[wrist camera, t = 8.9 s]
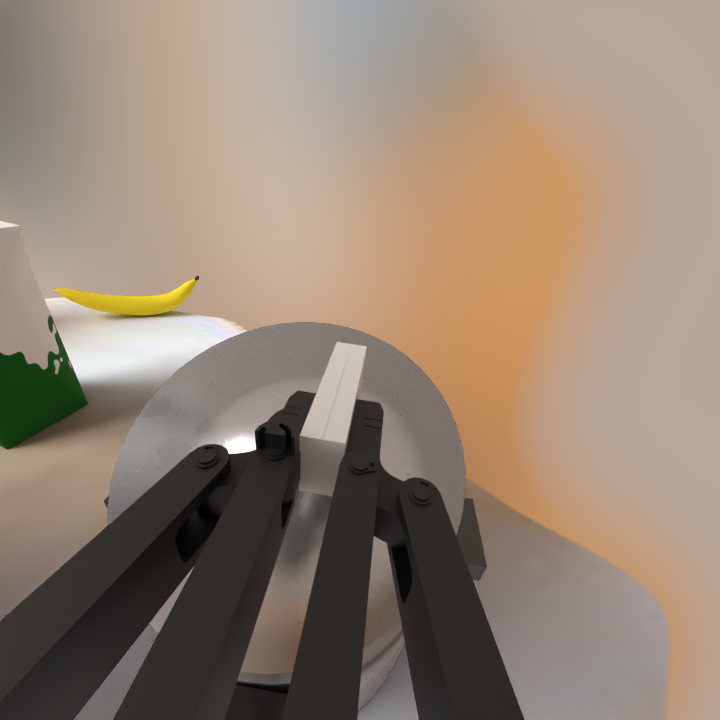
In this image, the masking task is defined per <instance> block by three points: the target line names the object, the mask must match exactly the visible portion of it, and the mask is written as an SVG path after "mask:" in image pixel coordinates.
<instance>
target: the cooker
mask: <svg viewBox="0 0 720 720" xmlns="http://www.w3.org/2000/svg"><path fill="white" fill-rule="evenodd" d="M108 500H109V496H108V497H107V498H106V499H105V500H104V502H105V505H106V507H107V509H108ZM456 536H457V539H458V542H459V545H460V547H461V550H462V553H463V555H464V558H465V561H466V564H467V566H468V569H469V572H470V574H471V577H472V580H478V581H479V580H480V578H481V576H482V575H483V573H484V571H485V569H486V568H487V565H486V560H485V556H484V551H483V546H482V541H481V537H480V532H479V527H478V522H477V518H476V513H475V508H474V503H473V499H468V498H464V505H463V512H462V518H461V521H460V525H459V528H458V532H457V535H456ZM157 634H159V633H157ZM404 643H405V640H404V635H403V630H402V624H401V621H400V622H399V623H398V624H396V625H395V626H394V627H393V628H392V629H391V630H390V631H389V632H387V633H386V634H385V635H383V636H382V637H380V638H378V639H377V640H375V641H374V642H372V643H371V644H369V645H368V646H366V647H364V648H363V659H362V670H361V681H360V692H359V703H358V711H359V710H360V709H361V708H362V707H363V706H364V705H365V704H366V703H367V702H368V701H369V700H370V699H371V698H372V697H373V696H374V695H375V694H376V692H377V691H378V690H379V688H380V687H381V686H382V685H383V683H384V682H385V681H386V679H387V677H388V676H389V674H390V672H391V670H392V669H393V667H394V665H395V664H396V662H397V659H398V657H399V655H400V653H401V650H402V648H403V646H404ZM292 673H293V672H289V673H277V674H258V673H247V672H240V674H239V677H238V680H237V683H236V686H235V689H234V692H233V695H232V698H231V701H230V704H229V707H228V710H227V713H226V716H225V720H282V717H283V713H284V708H285V704H286V699H287V695H288V691H289V686H290V682H291V677H292Z"/></svg>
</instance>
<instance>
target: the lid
mask: <svg viewBox="0 0 720 720" xmlns="http://www.w3.org/2000/svg"><path fill="white" fill-rule="evenodd" d="M337 342H341V343H348V344H354V345H361V346H367V349H366V356H365V364H364V371H363V379H362V387H361V393H360V398H359V399H360V400H366V401H373V402H379V403H380V404H381V406H382V408H383V410H384V416H383V427H382V438H381V449H380V462H381V464H382V466H383V468H384V469H385V470H386V471H387V472H388V473H389V474H390V475H392V476H394V477H395V478H397V479H400V480H402V481H405V480H407V479H409V478H414V477H417V478H423V479H425V480H428V481H430V482H431V483H432V484H434V485H435V486H436V487H437V489H438V490H439V492H440V494H441V496H442V499H443V501H444V504H445V507H446V509H447V512H448V515H449V518H450V520H451V523H452V526H453V528H454V531H455V534H456V535H457V532H458V528H459V525H460V521H461V518H462V512H463V505H464V498H465V463H464V454H463V448H462V444H461V440H460V436H459V432H458V428H457V426H456V423H455V421H454V418H453V416H452V413H451V411H450V409H449V407H448V405H447V403H446V402H445V400H444V398H443V396H442V394H441V393H440V392H439V390H438V389H437V388H436V386H435V385H434V383H433V382H432V380H431V379H430V378H429V377H428V376H427V375H426V374H425V373H424V372H423V370H422V369H421V368H420V367H419V366H418V365H416V364H415V363H414V362H413V361H412V360H411V359H409V358H408V357H407V356H406V355H405V354H403V353H402V352H400V351H399V350H397V349H396V348H395V347H393V346H391V345H390V344H388V343H386V342H384V341H382V340H380V339H378V338H376V337H374V336H371V335H369V334H367V333H364V332H361V331H358V330H355V329H351V328H348V327H344V326H339V325H333V324H326V323H315V322H295V323H285V324H277V325H272V326H266V327H261V328H258V329H255V330H251V331H247V332H244V333H242V334H239V335H236V336H234V337H231V338H229V339H227V340H225V341H223V342H220V343H218V344H216V345H214V346H212V347H211V348H209V349H207V350H206V351H204V352H203V353H201V354H199V355H198V356H196V357H194V358H193V359H192V360H191V361H189V362H188V363H187V364H185V365H184V366H183V367H181V368H180V369H179V370H178V371H177V372H175V373H174V374H173V375H172V376H171V377H170V378H169V379H168V380H167V381H166V382H165V383H164V384H163V385H162V386H161V387H160V388H159V389H158V390H157V392H156V393H155V394H154V395H153V396H152V397H151V398H150V400H149V401H148V402H147V404H146V405H145V407H144V408H143V409H142V411H141V412H140V414H139V415H138V416H137V418H136V420H135V422H134V423H133V425H132V427H131V429H130V431H129V432H128V434H127V436H126V438H125V441H124V443H123V445H122V448H121V450H120V453H119V455H118V458H117V461H116V464H115V468H114V472H113V476H112V480H111V484H110V492H109V500H108V525H109V524H110V523H111V522H113V521H114V520H115V519H116V518H117V517H118V516H119V515H120V514H122V513H123V512H124V511H125V510H126V509H127V508H128V507H129V506H131V505H132V504H133V503H134V502H135V501H136V500H137V499H138V498H140V497H141V496H142V495H143V494H144V493H145V492H146V491H148V490H149V489H150V488H151V487H152V486H153V485H154V484H155V483H157V482H158V481H159V480H160V479H161V478H162V477H163V476H164V475H166V474H167V473H168V472H169V471H170V470H171V469H172V468H173V467H175V466H176V465H177V464H178V463H179V462H180V461H181V460H182V459H184V458H185V457H186V456H187V455H188V454H189V453H190V452H192V451H193V450H195V449H196V448H198V447H201V446H203V445H207V444H218V445H222V446H224V447H225V448H226V449H227V450H228V452H229V454H232V453H243V452H249V451H252V450H255V449H256V442H255V430H256V429H257V427H258V426H259V425H261V424H263V423H265V422H268V421H272V420H278V419H279V417H280V415H281V414H282V411H283V409H284V407H285V405H286V403H287V401H288V399H289V397H290V396H291V395H293V394H294V393H295V392H296V391H298V390H299V391H305V392H311V393H317V391H318V388H319V386H320V383H321V381H322V378H323V375H324V373H325V370H326V368H327V365H328V363H329V360H330V358H331V355H332V353H333V350H334V348H335V345H336V343H337ZM331 501H332V496H327V495H322V494H316V493H310V492H304V491H299V485H298V487H297V490H296V493H295V505H294V508H293V511H292V515H291V518H290V521H289V524H288V527H287V530H286V533H285V536H284V539H283V542H282V545H281V548H280V551H279V554H278V557H277V560H276V564H275V567H274V570H273V573H272V576H271V579H270V582H269V585H268V588H267V591H266V594H265V597H264V600H263V603H262V606H261V609H260V612H259V616H258V619H257V622H256V625H255V628H254V631H253V634H252V637H251V640H250V643H249V646H248V649H247V652H246V655H245V658H244V661H243V664H242V668H241V671H240V672H247V673H258V674H277V673H289V672H293V669H294V664H295V660H296V655H297V651H298V646H299V642H300V638H301V633H302V629H303V624H304V620H305V616H306V611H307V607H308V602H309V598H310V594H311V589H312V585H313V580H314V576H315V571H316V567H317V563H318V558H319V554H320V549H321V545H322V541H323V536H324V532H325V527H326V523H327V519H328V514H329V510H330V505H331ZM193 568H194V567H193ZM193 568H192V569H191V571H192V570H193ZM191 571H190V572H189V573H188V575H187V576H186V577H185V578H184V580H183V581H182V582H181V583H180V585H179V586H178V587H177V589H176V590H175V591H174V592H173V594H172V595H171V596H170V597H169V599H168V600H167V601H166V603H165V604H164V605H163V606H162V608H161V609H160V610H159V611H158V613H157V614H156V615H155V617H154V618H153V619H152V620H151V622H150V623H149V624H150V626H151V627H152V628H153V629H154V630H155V631H156V632H157V633H159V632H160V630H161V628H162V626H163V624H164V623H165V621H166V619H167V617H168V615H169V613H170V611H171V609H172V607H173V606H174V604H175V602H176V600H177V598H178V596H179V594H180V592H181V590H182V588H183V587H184V585H185V583H186V581H187V579H188V577H189V575H190V573H191ZM400 621H401V619H400V613H399V608H398V602H397V597H396V591H395V586H394V580H393V575H392V570H391V564H390V559H389V553H388V548H387V543H385V542H384V541H382V540H380V539H378V538H376V537H375V536H374V538H373V549H372V560H371V571H370V582H369V593H368V604H367V615H366V626H365V637H364V647H366V646H368V645H369V644H371V643H372V642H374V641H375V640H377V639H378V638H380V637H382V636H383V635H385V634H386V633H387V632H389V631H390V630H391V629H392V628H393V627H394V626H395V625H396V624H398V623H399V622H400Z"/></svg>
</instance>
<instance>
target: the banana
mask: <svg viewBox="0 0 720 720" xmlns="http://www.w3.org/2000/svg"><path fill="white" fill-rule="evenodd" d="M198 279H199V277H198V276H196V277H195V279H193V280H190V281H188V282H186V283H185V284H183V285H182V286H180V287H179V288H177V289H176V290H174V291H172V292H170V293H167V294H163V295H156V296H116V295H105V294H98V293H92V292H85V291H80V290H73V289H65V288H61V289H57V288H54V290H55V291H56V292H58V293H59V294H60V295H62V296H63V297H65V298H67V299H69V300H71V301H73V302H76V303H78V304H80V305H82V306H85V307H88V308H91V309H95V310H98V311H104V312H110V313H117V314H125V315H154V314H161V313H164V312H168V311H170V310H172V309H174V308H176V307H177V306H179V305H180V304H181V303H182V302H183V301H184V300H185V299H186V298H187V297H188V295H189V294H190V293H191V291H192V289H193V288H194V285H195V283H196V280H198Z"/></svg>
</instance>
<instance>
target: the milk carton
mask: <svg viewBox="0 0 720 720" xmlns="http://www.w3.org/2000/svg"><path fill="white" fill-rule="evenodd" d="M86 404H88V402H87V400H86V398H85V395H84V393H83V391H82V388H81V386H80V383H79V381H78V379H77V376H76V374H75V372H74V369H73V367H72V364H71V362H70V360H69V357H68V355H67V353H66V350H65V348H64V345H63V343H62V341H61V338H60V336H59V333H58V331H57V329H56V326H55V324H54V322H53V319H52V317H51V314H50V312H49V309H48V307H47V305H46V302H45V300H44V298H43V295H42V293H41V290H40V288H39V285H38V283H37V281H36V278H35V276H34V273H33V271H32V268H31V264H30V261H29V257H28V253H27V250H26V246H25V242H24V239H23V234H22V230H21V226H19V225H15V224H11V223H6V222H2V221H0V446H1V447H4V448H6V449H9V448H10V447H12V446H14V445H16V444H17V443H19V442H21V441H23V440H25V439H26V438H28V437H30V436H32V435H33V434H35V433H37V432H39V431H40V430H42V429H44V428H46V427H48V426H49V425H51V424H53V423H55V422H56V421H58V420H60V419H62V418H63V417H65V416H67V415H69V414H71V413H72V412H74V411H76V410H78V409H79V408H81V407H83V406H85V405H86Z"/></svg>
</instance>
